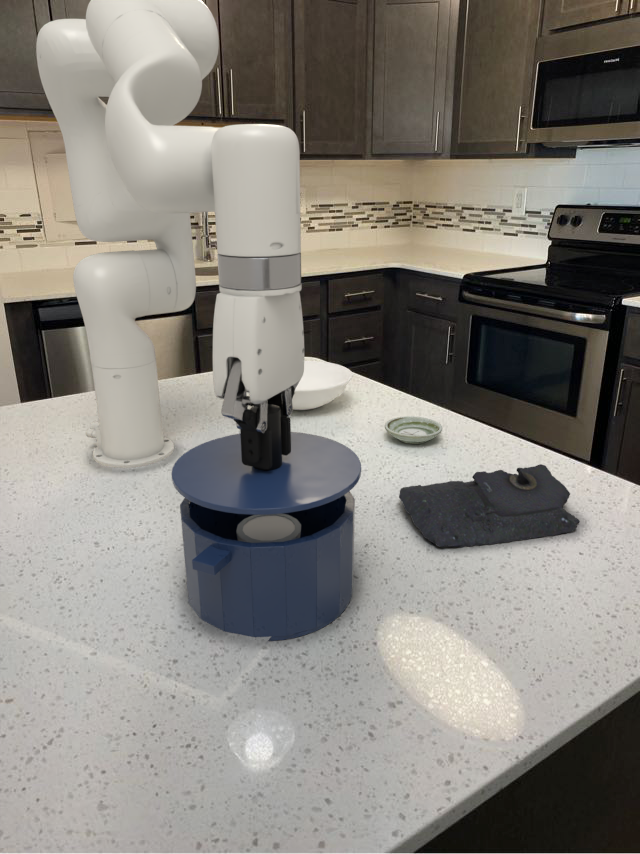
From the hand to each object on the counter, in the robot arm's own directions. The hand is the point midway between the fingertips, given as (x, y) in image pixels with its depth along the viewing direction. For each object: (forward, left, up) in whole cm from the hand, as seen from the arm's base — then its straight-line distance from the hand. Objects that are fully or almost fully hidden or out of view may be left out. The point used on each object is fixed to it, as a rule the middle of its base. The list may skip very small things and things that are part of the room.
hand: (266, 457), depth 67 cm
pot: (0, 0, -16) cm, 16 cm away
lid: (0, 0, -1) cm, 1 cm away
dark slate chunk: (+17, +27, -16) cm, 36 cm away
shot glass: (0, 0, -15) cm, 15 cm away
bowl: (-25, +55, -16) cm, 63 cm away
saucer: (0, +48, -16) cm, 51 cm away
